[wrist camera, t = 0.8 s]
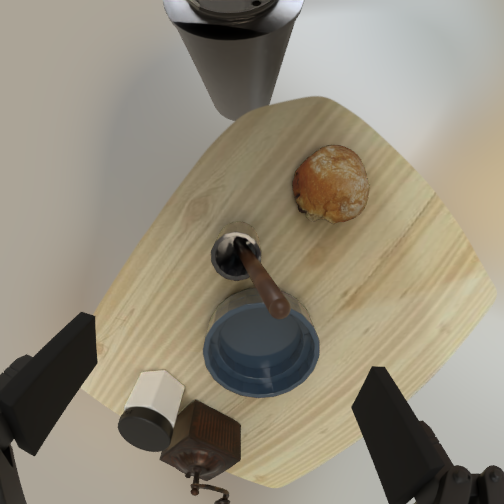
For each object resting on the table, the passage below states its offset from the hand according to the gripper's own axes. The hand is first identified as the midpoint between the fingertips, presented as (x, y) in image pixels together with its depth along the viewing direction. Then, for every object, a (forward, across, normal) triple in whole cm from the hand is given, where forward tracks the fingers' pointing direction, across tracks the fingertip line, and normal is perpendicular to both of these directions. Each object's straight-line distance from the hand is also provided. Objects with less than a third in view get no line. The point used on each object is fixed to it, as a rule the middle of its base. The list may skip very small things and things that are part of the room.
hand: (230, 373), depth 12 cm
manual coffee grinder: (+28, +2, -37) cm, 47 cm away
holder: (+28, 0, 0) cm, 28 cm away
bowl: (+28, +5, -13) cm, 32 cm away
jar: (+28, -9, -28) cm, 41 cm away
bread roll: (+29, +10, +10) cm, 32 cm away
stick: (+28, 0, 0) cm, 28 cm away
